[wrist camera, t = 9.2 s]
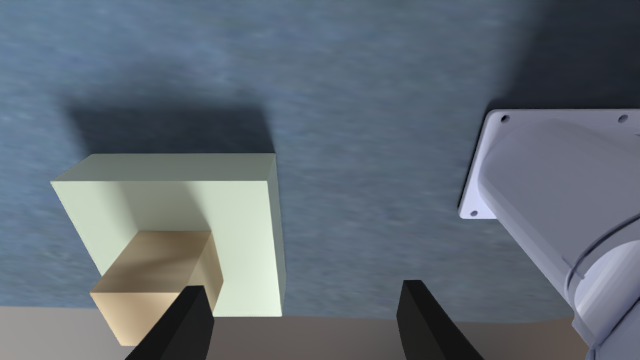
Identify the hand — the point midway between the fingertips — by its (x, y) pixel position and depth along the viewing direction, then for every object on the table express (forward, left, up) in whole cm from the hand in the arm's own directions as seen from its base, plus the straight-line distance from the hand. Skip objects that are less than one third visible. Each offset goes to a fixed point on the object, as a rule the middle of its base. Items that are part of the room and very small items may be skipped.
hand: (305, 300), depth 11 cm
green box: (+8, +5, -11) cm, 15 cm away
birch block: (+8, +5, -7) cm, 12 cm away
